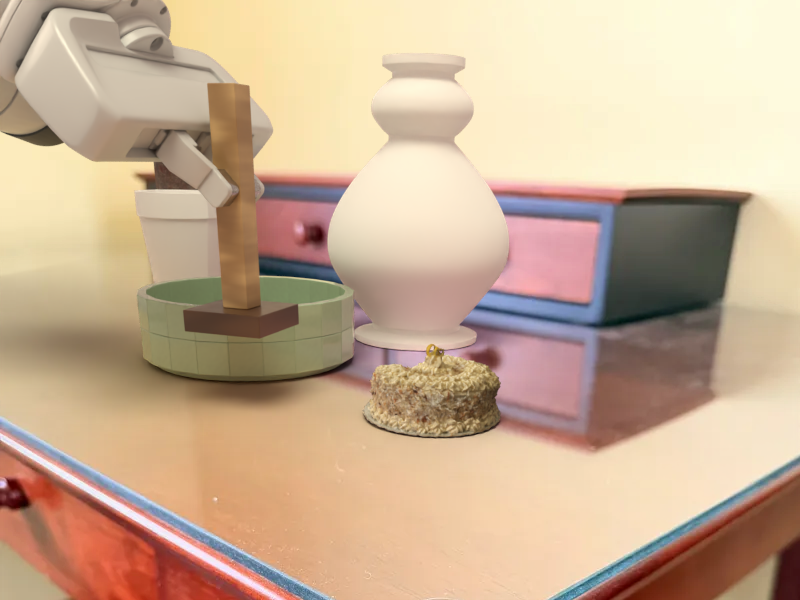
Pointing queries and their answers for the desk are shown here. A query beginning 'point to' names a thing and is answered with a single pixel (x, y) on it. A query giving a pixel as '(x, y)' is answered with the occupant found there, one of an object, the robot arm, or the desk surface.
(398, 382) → the cake
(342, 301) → the bowl
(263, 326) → the wooden post stand
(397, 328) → the decorative vase
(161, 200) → the white flower pot
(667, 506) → the desk surface
